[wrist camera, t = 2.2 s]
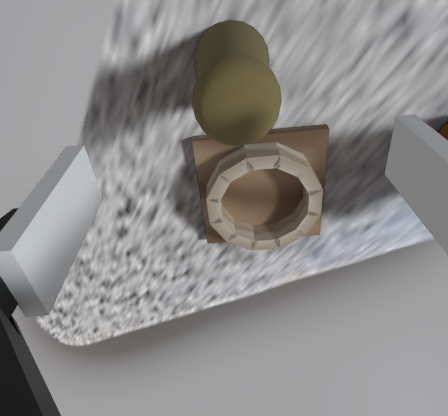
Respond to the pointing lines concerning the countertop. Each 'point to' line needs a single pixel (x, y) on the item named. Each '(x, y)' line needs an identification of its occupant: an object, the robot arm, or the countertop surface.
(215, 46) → the olive knobbed peg
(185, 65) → the countertop surface
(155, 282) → the countertop surface
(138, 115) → the countertop surface
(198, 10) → the countertop surface
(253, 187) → the collar base
